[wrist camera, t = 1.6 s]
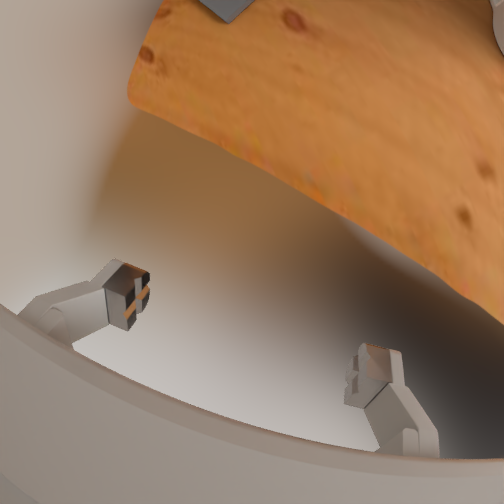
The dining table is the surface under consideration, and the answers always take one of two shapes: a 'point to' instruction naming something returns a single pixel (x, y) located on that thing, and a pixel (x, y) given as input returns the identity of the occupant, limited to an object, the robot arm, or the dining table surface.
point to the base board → (227, 7)
